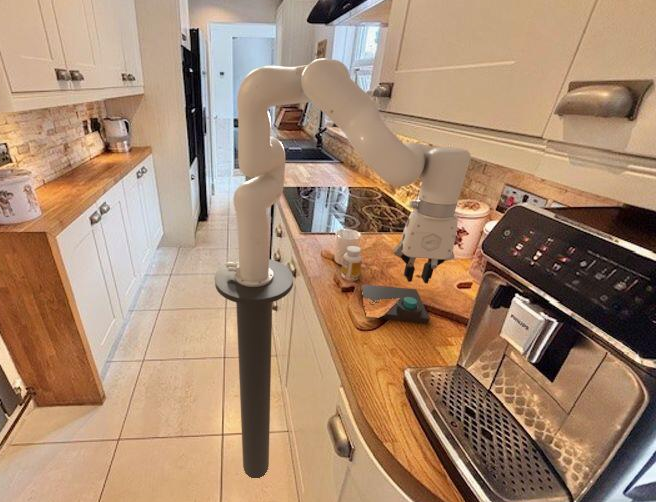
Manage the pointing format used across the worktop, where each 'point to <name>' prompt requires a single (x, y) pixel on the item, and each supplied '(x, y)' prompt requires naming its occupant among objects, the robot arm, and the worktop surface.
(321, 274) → the worktop surface
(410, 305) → the button
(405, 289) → the scale
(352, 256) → the supplement bottle
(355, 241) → the white cup
